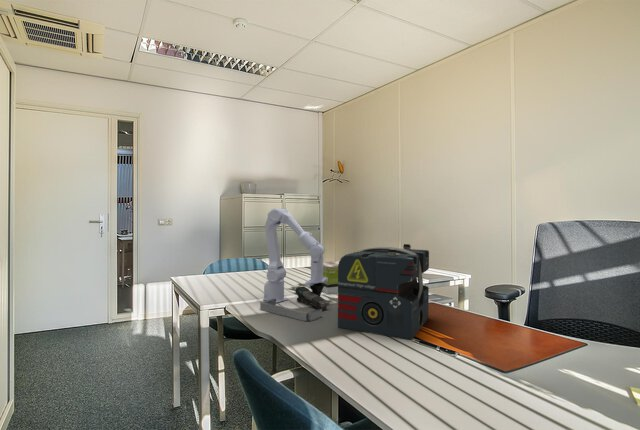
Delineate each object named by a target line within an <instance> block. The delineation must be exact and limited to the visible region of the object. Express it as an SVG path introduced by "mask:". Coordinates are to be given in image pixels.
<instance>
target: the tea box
mask: <svg viewBox="0 0 640 430" xmlns="http://www.w3.org/2000/svg"><path fill="white" fill-rule="evenodd" d="M338 264H339V263H337V262H335V261H323V278H324V277H326V278H328V282H323V283H322V284H324V287H323V289H322V292H321V293H324V294H326V295H335V294H337V295H338Z"/></svg>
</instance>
